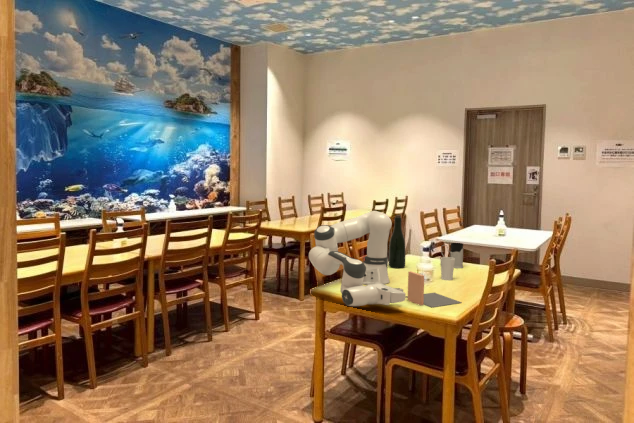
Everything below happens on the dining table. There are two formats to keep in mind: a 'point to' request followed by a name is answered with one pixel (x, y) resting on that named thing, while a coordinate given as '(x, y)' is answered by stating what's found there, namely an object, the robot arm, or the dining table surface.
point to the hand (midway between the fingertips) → (401, 290)
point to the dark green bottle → (397, 246)
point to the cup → (447, 268)
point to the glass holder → (456, 254)
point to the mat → (437, 300)
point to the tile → (416, 288)
